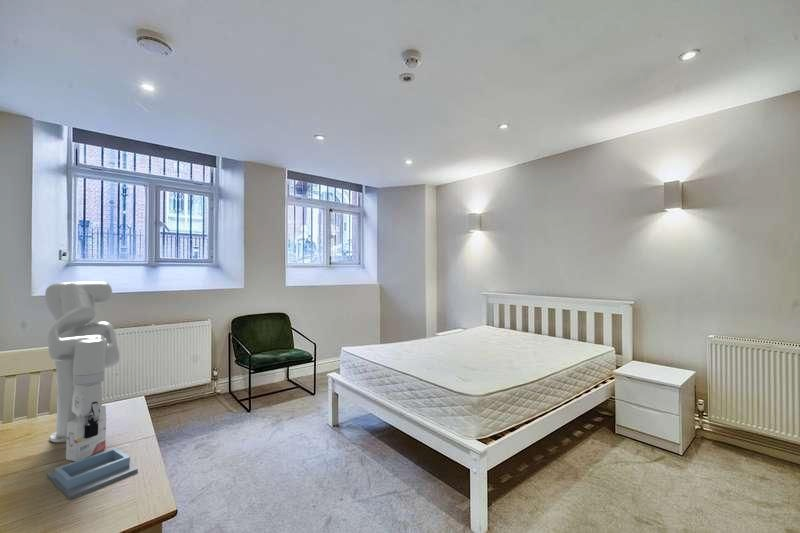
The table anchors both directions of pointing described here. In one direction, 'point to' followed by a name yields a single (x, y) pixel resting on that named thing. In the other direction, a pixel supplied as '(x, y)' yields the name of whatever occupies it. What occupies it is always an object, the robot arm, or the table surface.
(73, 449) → the ink cartridge box
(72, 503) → the table surface
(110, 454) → the dock
